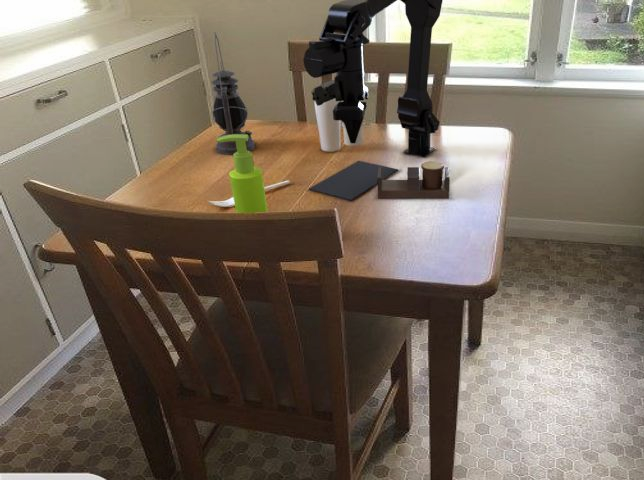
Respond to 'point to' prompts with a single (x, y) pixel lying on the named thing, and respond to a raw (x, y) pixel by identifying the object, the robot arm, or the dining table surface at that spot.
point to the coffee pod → (359, 137)
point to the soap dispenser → (245, 178)
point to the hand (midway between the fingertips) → (353, 139)
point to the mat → (352, 180)
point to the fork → (231, 201)
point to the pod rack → (411, 187)
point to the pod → (432, 174)
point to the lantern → (229, 109)
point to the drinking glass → (328, 126)
